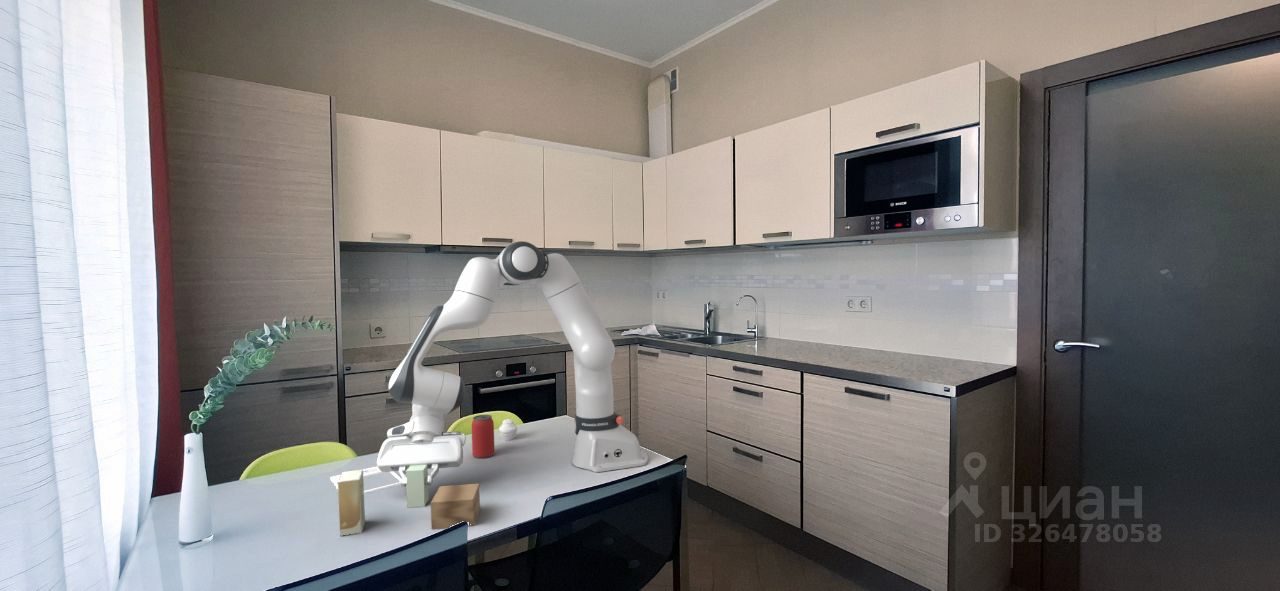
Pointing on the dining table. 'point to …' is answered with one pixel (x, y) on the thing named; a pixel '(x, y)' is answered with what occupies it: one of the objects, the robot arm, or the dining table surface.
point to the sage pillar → (416, 486)
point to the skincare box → (351, 502)
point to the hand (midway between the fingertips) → (416, 485)
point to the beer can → (483, 436)
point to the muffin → (508, 429)
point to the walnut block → (455, 505)
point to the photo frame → (367, 473)
